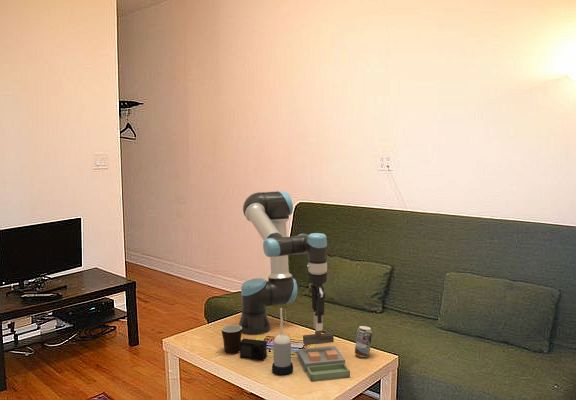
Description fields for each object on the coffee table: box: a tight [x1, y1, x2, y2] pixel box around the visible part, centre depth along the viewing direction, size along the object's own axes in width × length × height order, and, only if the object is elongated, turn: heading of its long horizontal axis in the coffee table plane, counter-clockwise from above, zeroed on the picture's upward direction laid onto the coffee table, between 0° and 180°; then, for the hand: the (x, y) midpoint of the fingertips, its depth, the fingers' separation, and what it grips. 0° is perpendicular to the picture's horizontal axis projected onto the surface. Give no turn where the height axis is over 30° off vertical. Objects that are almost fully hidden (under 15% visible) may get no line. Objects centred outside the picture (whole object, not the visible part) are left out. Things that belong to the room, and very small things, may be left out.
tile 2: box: [325, 350, 338, 360], centre depth 201 cm, size 4×4×2 cm
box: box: [306, 362, 351, 382], centre depth 193 cm, size 7×15×2 cm, turn 101°
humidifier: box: [271, 307, 294, 377], centre depth 196 cm, size 8×8×25 cm
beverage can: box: [354, 325, 373, 358], centre depth 210 cm, size 6×7×12 cm
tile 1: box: [308, 352, 321, 361], centre depth 200 cm, size 4×4×2 cm
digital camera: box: [239, 338, 268, 362], centre depth 209 cm, size 10×5×7 cm, turn 72°
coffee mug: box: [221, 324, 243, 355], centre depth 218 cm, size 12×9×10 cm
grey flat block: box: [296, 345, 346, 374], centre depth 204 cm, size 14×16×4 cm
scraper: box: [302, 311, 335, 346], centre depth 206 cm, size 3×12×13 cm, turn 101°
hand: (318, 329), depth 206 cm, fingers closed on scraper, 2 cm apart
